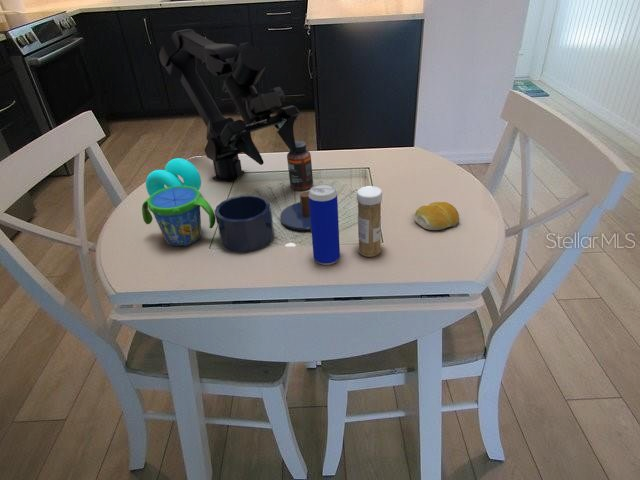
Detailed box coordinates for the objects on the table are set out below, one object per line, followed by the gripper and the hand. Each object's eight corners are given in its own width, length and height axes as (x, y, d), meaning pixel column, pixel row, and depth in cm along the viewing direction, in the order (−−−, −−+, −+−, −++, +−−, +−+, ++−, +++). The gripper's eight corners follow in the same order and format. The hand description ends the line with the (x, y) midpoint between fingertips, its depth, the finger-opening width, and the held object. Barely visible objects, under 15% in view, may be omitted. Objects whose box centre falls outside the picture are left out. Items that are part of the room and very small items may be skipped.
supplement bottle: (314, 180, 120) (311, 139, 114) (312, 191, 115) (308, 148, 109) (292, 181, 120) (287, 139, 114) (288, 191, 115) (283, 148, 109)
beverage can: (343, 253, 91) (340, 184, 83) (335, 267, 87) (331, 197, 79) (318, 249, 93) (313, 182, 84) (310, 264, 89) (303, 194, 80)
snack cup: (227, 229, 101) (219, 188, 96) (203, 256, 93) (193, 212, 88) (167, 222, 106) (156, 182, 100) (139, 246, 97) (125, 204, 92)
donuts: (149, 208, 112) (138, 170, 107) (174, 190, 120) (165, 154, 114) (183, 213, 109) (173, 175, 103) (206, 195, 116) (199, 158, 111)
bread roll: (465, 223, 98) (467, 206, 95) (432, 235, 94) (433, 218, 92) (440, 207, 104) (441, 191, 102) (407, 218, 101) (408, 202, 99)
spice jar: (384, 255, 89) (385, 194, 82) (361, 259, 89) (361, 197, 81) (376, 243, 93) (377, 183, 86) (355, 247, 93) (353, 187, 85)
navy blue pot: (211, 247, 96) (204, 216, 92) (238, 221, 104) (233, 192, 100) (258, 256, 92) (252, 224, 88) (282, 228, 100) (279, 198, 96)
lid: (279, 234, 98) (276, 209, 95) (281, 207, 109) (278, 184, 105) (336, 230, 98) (335, 205, 95) (332, 203, 109) (331, 180, 105)
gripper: (220, 84, 91) (258, 152, 90) (293, 68, 101) (327, 129, 100) (205, 114, 100) (239, 176, 99) (273, 96, 110) (304, 153, 109)
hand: (279, 158), depth 102 cm, fingers open, 9 cm apart
